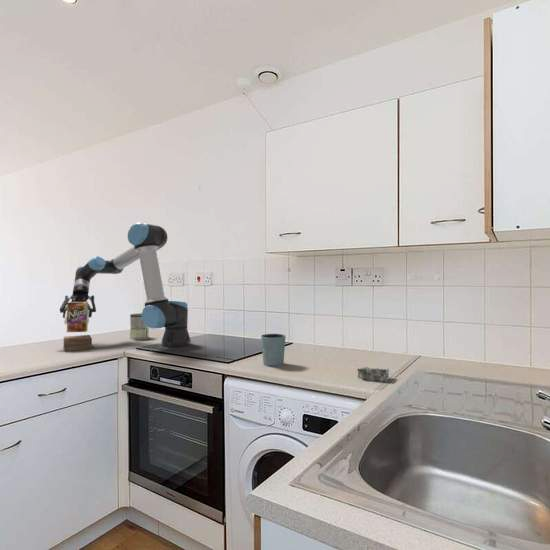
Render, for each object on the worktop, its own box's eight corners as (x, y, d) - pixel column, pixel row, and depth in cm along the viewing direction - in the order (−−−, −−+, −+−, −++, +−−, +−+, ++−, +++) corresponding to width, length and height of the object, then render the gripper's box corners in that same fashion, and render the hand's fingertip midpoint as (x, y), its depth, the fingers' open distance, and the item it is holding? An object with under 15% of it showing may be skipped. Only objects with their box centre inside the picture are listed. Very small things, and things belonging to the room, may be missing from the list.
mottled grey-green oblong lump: (355, 380, 131) (355, 368, 131) (360, 375, 137) (360, 364, 137) (386, 383, 126) (386, 371, 126) (390, 378, 133) (390, 367, 133)
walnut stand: (91, 348, 184) (91, 338, 184) (64, 350, 178) (64, 340, 178) (89, 344, 196) (89, 334, 196) (63, 346, 190) (63, 336, 190)
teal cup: (287, 362, 156) (288, 334, 156) (281, 368, 146) (282, 337, 146) (265, 360, 159) (265, 333, 159) (257, 366, 149) (257, 336, 149)
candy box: (66, 332, 184) (66, 302, 184) (69, 331, 188) (69, 301, 188) (85, 332, 186) (86, 302, 186) (87, 330, 190) (88, 301, 190)
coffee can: (127, 337, 218) (127, 314, 218) (144, 336, 224) (145, 313, 224) (133, 340, 210) (133, 315, 210) (151, 338, 216) (151, 314, 216)
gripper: (103, 293, 206) (100, 325, 191) (59, 294, 198) (52, 327, 183) (103, 284, 201) (100, 316, 186) (57, 284, 193) (50, 318, 178)
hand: (76, 322), depth 184 cm, fingers closed on candy box, 9 cm apart
